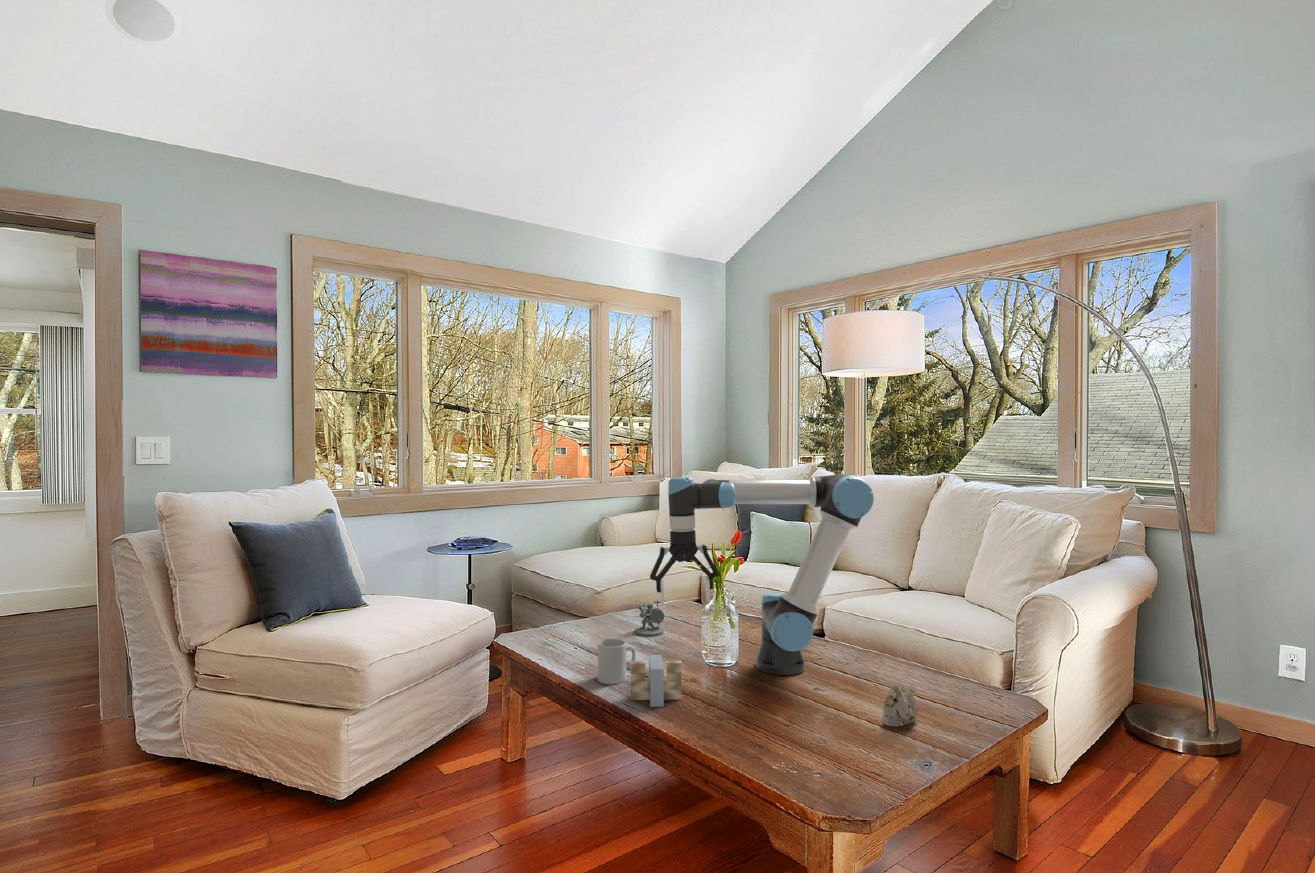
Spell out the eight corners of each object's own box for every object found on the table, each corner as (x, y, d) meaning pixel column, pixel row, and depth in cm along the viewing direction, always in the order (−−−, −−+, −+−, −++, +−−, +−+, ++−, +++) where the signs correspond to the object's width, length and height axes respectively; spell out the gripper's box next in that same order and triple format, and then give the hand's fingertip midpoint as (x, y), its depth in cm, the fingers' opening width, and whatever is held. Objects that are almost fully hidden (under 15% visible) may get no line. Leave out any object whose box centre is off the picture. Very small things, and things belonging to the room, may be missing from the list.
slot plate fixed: (681, 696, 191) (681, 660, 191) (681, 699, 189) (681, 662, 189) (630, 697, 191) (630, 661, 191) (630, 699, 189) (630, 663, 189)
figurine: (633, 628, 259) (633, 597, 259) (662, 628, 260) (662, 596, 260) (636, 637, 248) (636, 603, 248) (665, 636, 249) (665, 603, 249)
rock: (905, 728, 168) (905, 685, 171) (879, 724, 172) (880, 682, 176) (926, 730, 176) (926, 688, 179) (901, 726, 180) (901, 686, 184)
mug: (604, 686, 199) (604, 648, 199) (593, 677, 207) (593, 640, 207) (641, 679, 205) (641, 642, 205) (628, 670, 212) (628, 635, 212)
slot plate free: (649, 690, 196) (649, 655, 196) (661, 689, 196) (661, 654, 196) (650, 706, 184) (650, 669, 184) (663, 706, 184) (663, 669, 184)
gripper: (722, 526, 207) (724, 596, 207) (639, 530, 205) (642, 601, 205) (726, 529, 200) (729, 602, 200) (641, 533, 198) (643, 607, 198)
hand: (685, 601), depth 203 cm, fingers open, 13 cm apart
